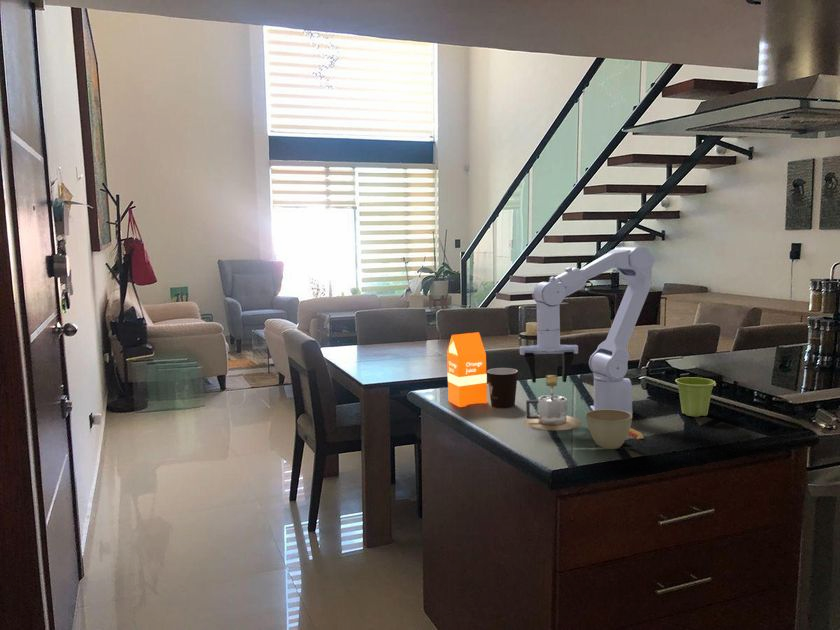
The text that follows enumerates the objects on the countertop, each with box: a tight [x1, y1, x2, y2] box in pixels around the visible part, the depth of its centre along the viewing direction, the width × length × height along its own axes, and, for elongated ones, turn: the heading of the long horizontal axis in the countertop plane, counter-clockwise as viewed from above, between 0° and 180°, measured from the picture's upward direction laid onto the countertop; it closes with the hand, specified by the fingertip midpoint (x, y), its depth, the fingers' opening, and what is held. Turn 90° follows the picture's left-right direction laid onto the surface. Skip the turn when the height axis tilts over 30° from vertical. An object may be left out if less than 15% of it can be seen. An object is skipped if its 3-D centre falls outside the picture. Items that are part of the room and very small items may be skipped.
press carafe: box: [525, 394, 568, 426], centre depth 165 cm, size 10×7×6 cm
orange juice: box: [446, 331, 488, 408], centre depth 188 cm, size 8×9×20 cm
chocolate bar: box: [627, 427, 645, 440], centre depth 155 cm, size 3×12×2 cm, turn 14°
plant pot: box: [674, 376, 716, 418], centre depth 168 cm, size 9×9×9 cm
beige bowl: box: [585, 409, 633, 450], centre depth 146 cm, size 10×10×7 cm
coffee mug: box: [486, 367, 519, 409], centre depth 184 cm, size 12×9×10 cm
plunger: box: [542, 374, 563, 402], centre depth 164 cm, size 5×5×6 cm
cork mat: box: [523, 414, 582, 431], centre depth 165 cm, size 14×14×1 cm
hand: (549, 381), depth 169 cm, fingers open, 7 cm apart
